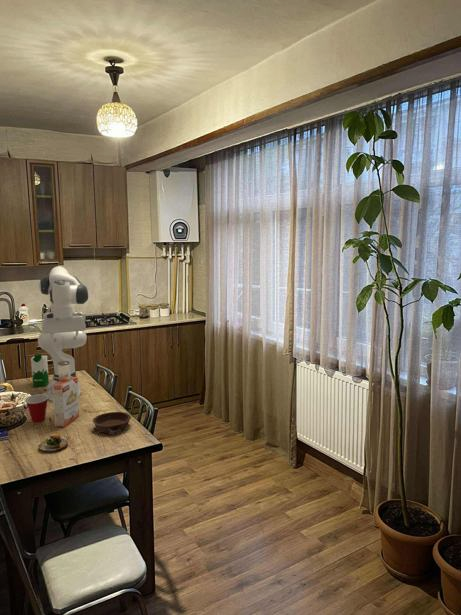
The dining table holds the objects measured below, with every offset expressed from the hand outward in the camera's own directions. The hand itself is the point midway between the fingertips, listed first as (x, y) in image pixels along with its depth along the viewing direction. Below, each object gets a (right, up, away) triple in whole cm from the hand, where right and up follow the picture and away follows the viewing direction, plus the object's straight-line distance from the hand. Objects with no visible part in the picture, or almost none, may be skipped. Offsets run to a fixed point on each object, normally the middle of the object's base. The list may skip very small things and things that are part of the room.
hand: (64, 341), depth 226 cm
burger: (+6, -44, -29) cm, 53 cm away
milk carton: (-36, -32, +58) cm, 75 cm away
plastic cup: (-13, -40, 0) cm, 42 cm away
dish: (+26, -41, -9) cm, 49 cm away
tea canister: (+1, -19, -4) cm, 19 cm away
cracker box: (+2, -40, -1) cm, 40 cm away
